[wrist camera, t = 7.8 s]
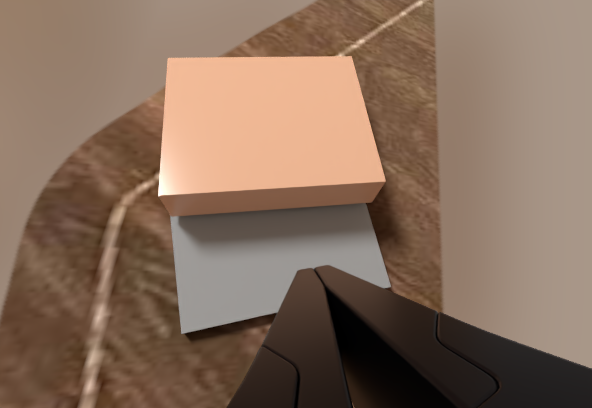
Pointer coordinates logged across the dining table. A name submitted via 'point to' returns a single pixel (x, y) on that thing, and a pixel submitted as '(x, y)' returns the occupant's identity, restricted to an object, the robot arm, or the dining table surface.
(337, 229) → the mat
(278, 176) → the peach rectangular block
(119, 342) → the dining table surface
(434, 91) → the dining table surface
